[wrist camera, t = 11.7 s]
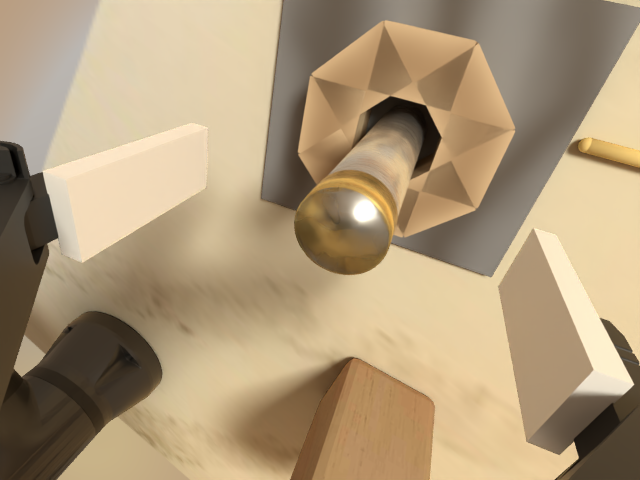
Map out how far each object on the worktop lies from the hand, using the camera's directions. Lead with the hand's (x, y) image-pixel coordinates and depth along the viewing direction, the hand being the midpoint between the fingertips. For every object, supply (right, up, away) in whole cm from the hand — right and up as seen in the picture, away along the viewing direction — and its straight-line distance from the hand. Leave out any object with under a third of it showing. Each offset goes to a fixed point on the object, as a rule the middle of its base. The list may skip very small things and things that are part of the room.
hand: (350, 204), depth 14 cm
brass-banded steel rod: (+5, +6, +11) cm, 13 cm away
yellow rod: (+19, +3, +8) cm, 21 cm away
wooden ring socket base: (+5, +7, +11) cm, 14 cm away
